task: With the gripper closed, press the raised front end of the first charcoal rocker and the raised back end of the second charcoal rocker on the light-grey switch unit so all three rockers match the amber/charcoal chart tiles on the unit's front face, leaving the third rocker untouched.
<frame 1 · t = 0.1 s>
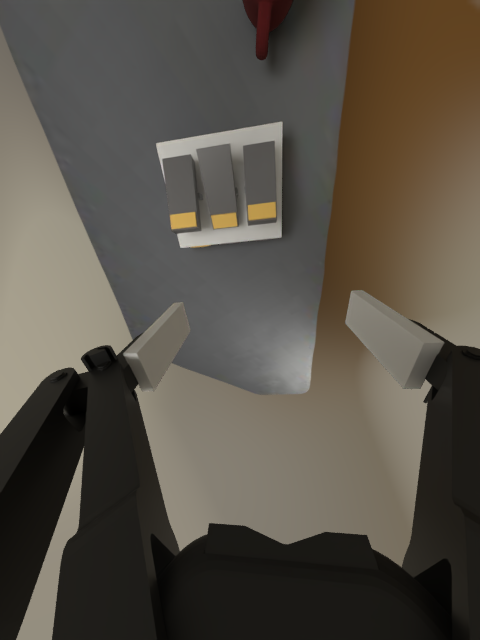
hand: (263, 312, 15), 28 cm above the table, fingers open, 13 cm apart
rocker 1: (182, 196, 28), point 8 cm above the table, hinge at -18.0°
mug: (267, 25, 25), on the table
rocker 3: (260, 185, 27), point 8 cm above the table, hinge at -18.0°
rocker 2: (220, 191, 27), point 8 cm above the table, hinge at 18.0°
switch unit: (227, 197, 35), on the table
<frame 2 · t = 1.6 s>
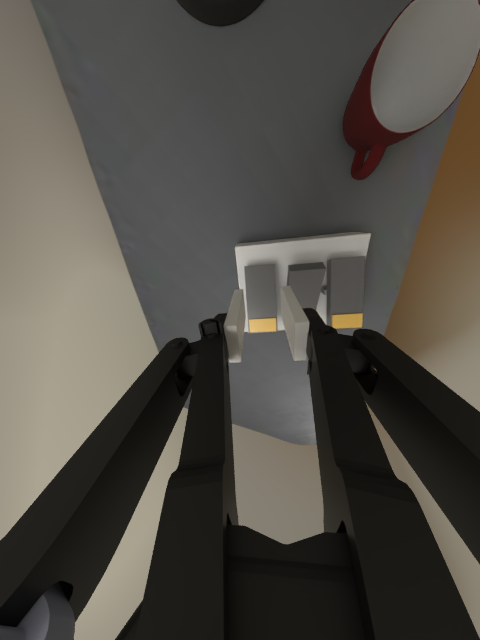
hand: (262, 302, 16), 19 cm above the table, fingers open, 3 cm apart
rocker 1: (261, 299, 27), point 8 cm above the table, hinge at -18.0°
mug: (357, 138, 24), on the table
rocker 3: (344, 294, 26), point 8 cm above the table, hinge at -18.0°
rocker 2: (302, 297, 27), point 8 cm above the table, hinge at 18.0°
switch unit: (292, 281, 34), on the table
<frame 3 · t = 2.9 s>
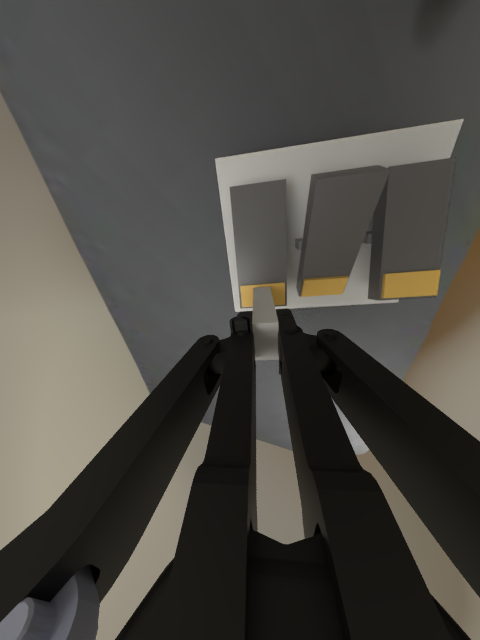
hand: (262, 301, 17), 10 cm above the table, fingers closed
rocker 1: (260, 251, 16), point 8 cm above the table, hinge at -11.1°, touching gripper
rocker 3: (407, 237, 15), point 8 cm above the table, hinge at -18.0°
rocker 2: (330, 245, 16), point 8 cm above the table, hinge at 18.0°
switch unit: (307, 235, 23), on the table
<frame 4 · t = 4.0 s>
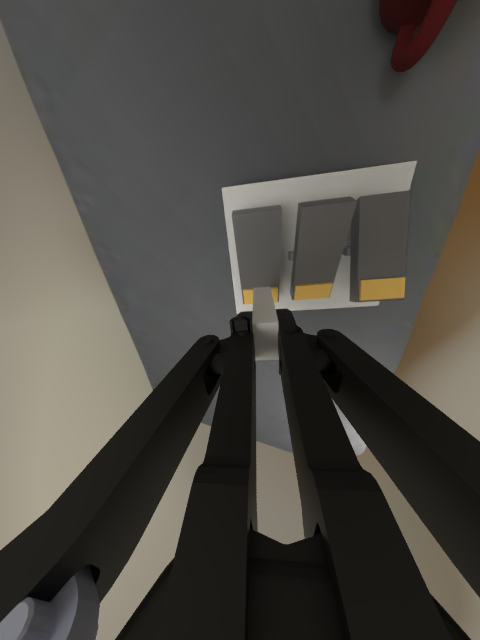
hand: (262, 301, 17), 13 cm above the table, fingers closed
rocker 1: (258, 262, 20), point 8 cm above the table, hinge at 15.0°
mug: (397, 22, 17), on the table
rocker 3: (378, 250, 18), point 8 cm above the table, hinge at -18.0°
rocker 2: (316, 257, 19), point 8 cm above the table, hinge at 18.0°
switch unit: (299, 248, 26), on the table
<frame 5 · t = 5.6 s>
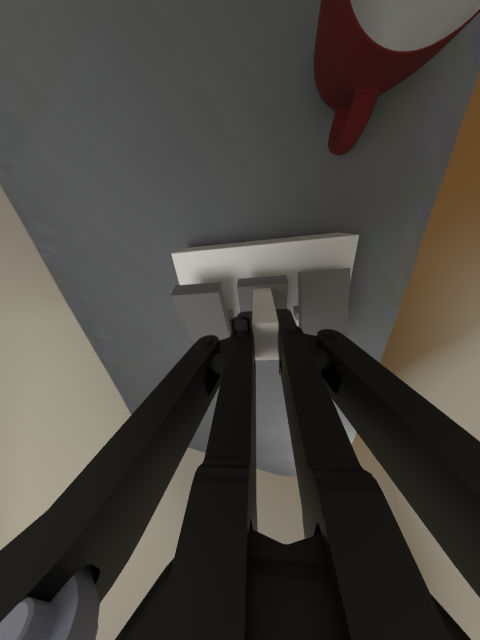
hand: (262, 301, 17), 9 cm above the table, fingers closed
rocker 1: (208, 326, 20), point 8 cm above the table, hinge at 17.0°
mug: (339, 96, 17), on the table
rocker 3: (322, 320, 19), point 8 cm above the table, hinge at -18.0°
rocker 2: (263, 324, 19), point 8 cm above the table, hinge at 11.6°, touching gripper
switch unit: (261, 296, 26), on the table
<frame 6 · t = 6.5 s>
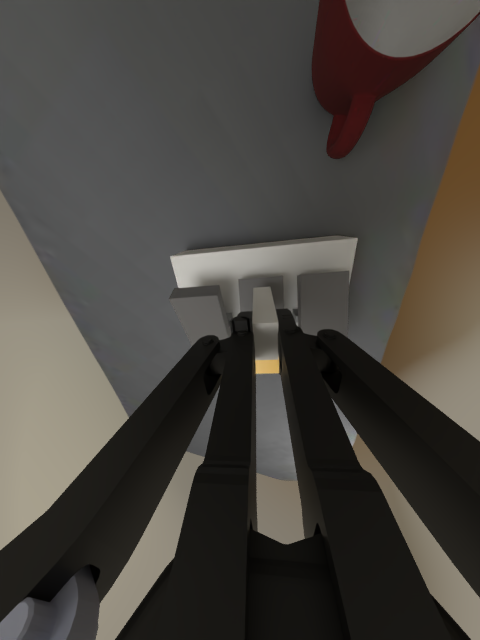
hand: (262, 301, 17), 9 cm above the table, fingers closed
rocker 1: (207, 329, 20), point 8 cm above the table, hinge at 17.1°
mug: (337, 101, 17), on the table
rocker 3: (322, 323, 18), point 8 cm above the table, hinge at -18.0°
rocker 2: (262, 326, 19), point 8 cm above the table, hinge at -20.1°
switch unit: (260, 298, 26), on the table
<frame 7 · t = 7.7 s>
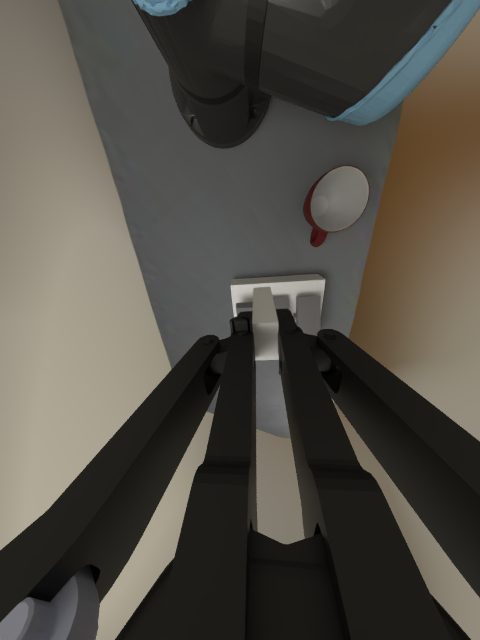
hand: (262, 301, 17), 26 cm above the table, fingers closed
rocker 1: (249, 323, 38), point 8 cm above the table, hinge at 17.1°
mug: (316, 214, 35), on the table
rocker 3: (308, 321, 37), point 8 cm above the table, hinge at -18.0°
rocker 2: (278, 322, 37), point 8 cm above the table, hinge at -26.6°
switch unit: (274, 306, 45), on the table
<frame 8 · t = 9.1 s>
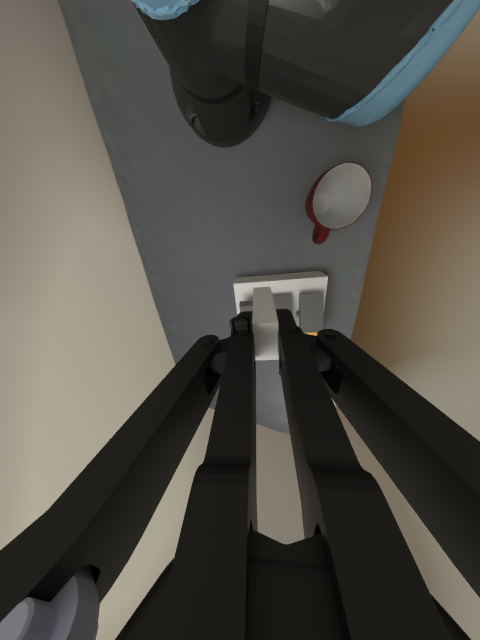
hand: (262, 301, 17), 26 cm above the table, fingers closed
rocker 1: (252, 321, 39), point 8 cm above the table, hinge at 17.1°
mug: (318, 211, 35), on the table
rocker 3: (311, 318, 37), point 8 cm above the table, hinge at -18.0°
rocker 2: (281, 319, 38), point 8 cm above the table, hinge at -27.0°, touching switch unit
switch unit: (277, 304, 45), on the table
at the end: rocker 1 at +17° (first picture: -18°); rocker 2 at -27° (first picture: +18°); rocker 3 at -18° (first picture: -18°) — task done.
